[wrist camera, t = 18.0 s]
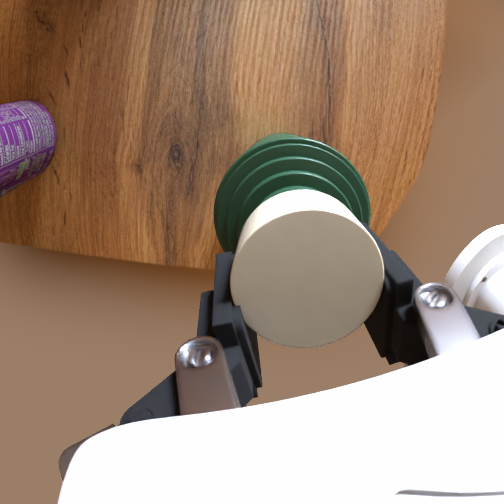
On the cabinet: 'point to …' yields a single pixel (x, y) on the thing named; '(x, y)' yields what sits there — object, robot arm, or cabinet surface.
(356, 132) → the cabinet surface
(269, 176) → the bottle
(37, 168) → the beverage can
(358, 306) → the cap
